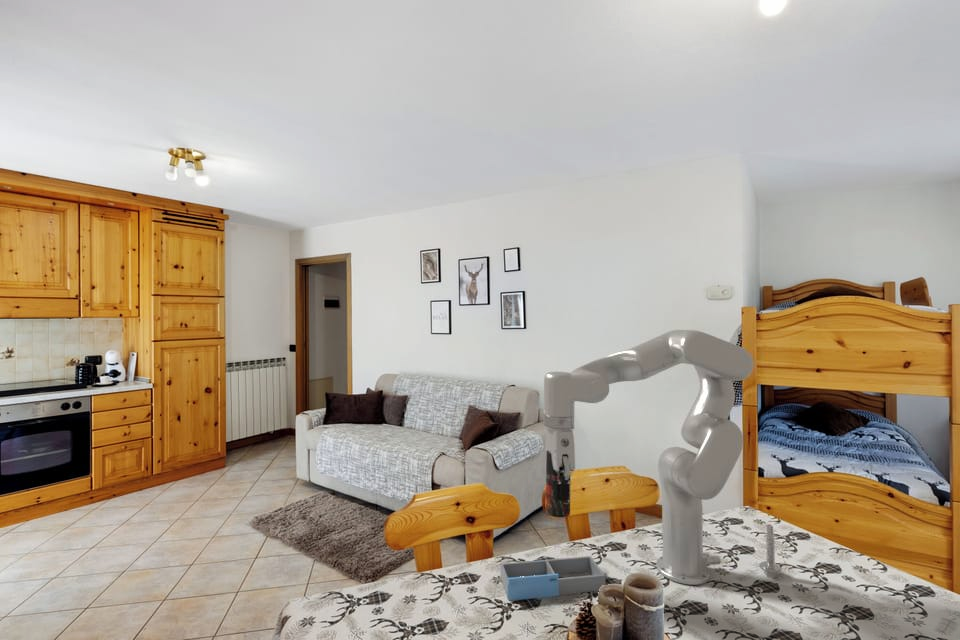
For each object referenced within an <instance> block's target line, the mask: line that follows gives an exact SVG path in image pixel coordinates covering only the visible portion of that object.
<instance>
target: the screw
mask: <svg viewBox="0 0 960 640" xmlns="http://www.w3.org/2000/svg"><path fill="white" fill-rule="evenodd" d="M765 533H766V535H765V541H766V542H765V543H766V547H765V548H766V549H765V550H766V551H765V554H766V556H765V557H766V559H765V560H766V561H762V562H760V563H759V565H758V566H759V568H760V569H761V570H763V572H764V573H763V574H764V575H765V576H766V577H767V578H771V579H776V578H778V574H781V573H782V572H783V568H782V567H781V566H780V565H778V563H777V564H776V561H775V560H776V559H775V558H776V557H775V556H776V553H775V551H776V550H775V548H776V547H775V540H776V538H775V535H774V526H773V525H772V524H771V523H770V524H766V532H765Z"/></svg>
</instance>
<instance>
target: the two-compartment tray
mask: <svg viewBox="0 0 960 640" xmlns="http://www.w3.org/2000/svg"><path fill="white" fill-rule="evenodd" d="M499 567H500V580H501V583H502V586H503V588H504V593H505V595H506V598H507V600H508V602H509V601H517V600H531V599H540V598H541V599H542V598H549V597H550V598H551V597H552V596H553V597H559V595H568V594H569V595H570V594H577V593H578V594H579V593H588V592H598V589H599V588H600V587H601V586H602V585H605V586H606V575H605V573H604V572H603V570H602V569H601V568H600V566H599V565H598V563H596V560H594V558H593V557H592V556H590V555H589V556H588V555H587V556H575V557H562V558H555V559H554V558H553V559H552V558H551V559H540V560H531V561H530V560H527V561H515V562H503V563H500V566H499ZM580 572H581V573H582V572H590V574H591V575H582V576H570V577H559V574H560V573H561V574H569V573H570V574H571V573H572V574H573V573H580ZM534 575H535V576H534ZM520 576H521V577H520ZM522 576H524V577H522Z"/></svg>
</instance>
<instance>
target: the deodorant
mask: <svg viewBox="0 0 960 640" xmlns="http://www.w3.org/2000/svg"><path fill="white" fill-rule="evenodd" d="M545 460H546V461H545V462H546V467H545V468H546V469H545V470H546V471H545V513H546V514H547V515H548V516H550V517H553V518H567V517H570V515H571V483H570V484H569V500H556V483H557V474H556V471H555V470H554V469H553V465H552V456H551V453H549V452H548V451H546V457H545ZM559 469H560V470H564V469H563V467H561V468H559ZM570 471H571V470H570ZM571 472H572V471H571ZM562 475H564V473H560V478H561V476H562Z"/></svg>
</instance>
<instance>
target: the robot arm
mask: <svg viewBox="0 0 960 640" xmlns="http://www.w3.org/2000/svg"><path fill="white" fill-rule="evenodd" d="M680 364H681V365H682V364H686V365H693V367H694V369H695V371H696V374H697V376H698V379H699V391H698V393H697V396H696V398H695V400H694V402H693V404H692V406H691V408H690V410H689V412H688V414H687V415H686V417H685V419H684V421H683V424H682V426H681V430H680V431H681V432H680V434H681V437H682V439H683V441H684V442H685V443H687V444H689V446H691V447H694V448H696V449H697V450H698V451H697V453H695V452H693V451H691V450H689V449H686V448H684V447H680V446H671V447H668V448H666V449H665V450H663V451H662V452H661V454H660V456H659V459H658V462H657V463H658V464H657V470H658V476H659V482H660V488H661V490H660V491H661V510H662V511H661V516H662V517H661V524H662V528H661V529H662V530H661V531H662V537H661V538H662V556H660V557H658V558H657V560H656V563H655V565H656V569H657V571H658V573H660V575H662V576H663V577H665V578H667V579H668V580H671V581H673V582H676V583H678V584H684V585H692V586H694V585H695V586H699V585H703V584H705V583H707V582H708V581H709V580H710V577H711V572H710V569H709V568H708V567H710V566H711V565H712V566H713V565H714V566H715V565H721V563H722V561H721V558H720V556H719V555H711V556H710V554H709V552H703V550H704V548H703V547H704V544H703V543H704V536H703V535H704V534H703V502H702V501H705V500H706V501H708V500H711V499H713V498H715V497H717V496H718V495H719V494H720V493H721V491H722V490H723V489H724V487H725V485H726V483H727V481H728V480H729V477H730V476H731V474H732V472H733V470H734V468H735V466H736V463H737V461H738V460H739V458H740V455H741V453H742V451H743V448H744V436H743V435H744V434H743V433H742V432H743V431H742V430H741V428H740V427H739V425H738V424H736V423H735V422H733V421H731V420H730V419H729V416H730V414H731V411H732V409H733V407H734V404H735V399H736V393H735V388H734V384H733V382H739V381H742V380H745V379H747V378H748V377H749V376H751V375H752V373H753V371H754V367H755V362H754V358H753V356H752V354H751V353H750V352H749V351H748V350H747V349H746V348H745V347H742V346H740V345H737V344H735V343H732V342H729V341H726V340H724V339H722V338H719V337H716V336H715V335H713V334H708V333H706V332H703V331H699V330H695V329H693V330H692V329H690V330H689V329H673V330H670V331H667V332H665V333H663V334H660V335H659V336H656V337H653V338H651V339H649V340H647V341H645V342H643V343H640V344H638V345H635V346H633V347H631V348H629V349H626V350H622V351H619V352H615V353H613V354H609V355H607V356H603V357H600V358H598V359H595V360H592V361H590V362H587V363H585V364H584V365H581V366H579V367H577V368H575V369H573V370H571V372H569V371H568V372H566V371H550V372H547V373H546V374H545V375H544V377H543V379H544V380H543V429H545V430H546V431H545V445H544V447H545V448H544V454H545V455H544V456H545V458H546V451H548V452H549V453H551V456H552V465H553V469H554V470H555V471H556V474H557V483H556V500H569V484H570V485H571V477H572V472H574V471H575V470H576V452H575V450H576V449H575V437H574V432H573V431H574V430H575V402H579V403H580V402H581V403H585V404H586V403H587V404H598V403H600V402H603V401H604V400H606V398H607V397H608V396H609V393H610V385H612V384H615V383H621V382H636V381H642V380H643V381H644V380H646V379H649V378H651V377H654V376H656V375H658V374H659V373H662V372H664V371H666V370H669V369H671V368H674V367H675V366H677V365H680ZM561 467H563V469H564V470H560V469H559V468H561ZM570 470H571V471H570ZM560 473H564V475H562V476H561V478H560Z"/></svg>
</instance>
